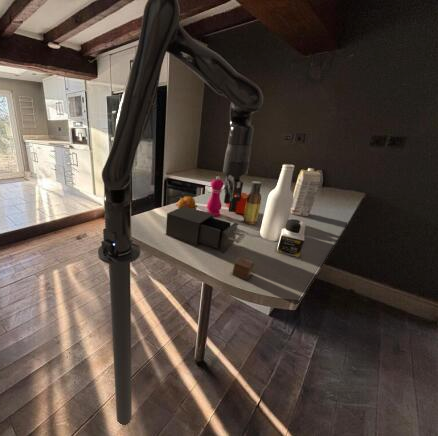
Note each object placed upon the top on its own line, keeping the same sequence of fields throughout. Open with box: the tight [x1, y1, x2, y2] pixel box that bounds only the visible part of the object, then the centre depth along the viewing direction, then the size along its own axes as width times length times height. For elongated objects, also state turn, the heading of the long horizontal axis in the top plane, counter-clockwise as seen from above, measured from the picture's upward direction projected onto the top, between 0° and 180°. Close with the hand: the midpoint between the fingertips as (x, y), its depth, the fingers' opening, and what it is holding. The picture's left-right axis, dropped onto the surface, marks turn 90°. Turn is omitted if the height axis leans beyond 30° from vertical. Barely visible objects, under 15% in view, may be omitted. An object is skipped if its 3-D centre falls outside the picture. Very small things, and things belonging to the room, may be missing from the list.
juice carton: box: [290, 167, 322, 217], centre depth 120 cm, size 9×8×24 cm
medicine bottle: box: [276, 218, 307, 258], centre depth 85 cm, size 7×7×12 cm
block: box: [232, 256, 255, 281], centre depth 72 cm, size 4×4×4 cm
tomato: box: [225, 192, 250, 215], centre depth 123 cm, size 14×16×10 cm
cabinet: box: [165, 206, 215, 247], centre depth 96 cm, size 15×13×10 cm
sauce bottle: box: [243, 180, 263, 225], centre depth 108 cm, size 7×6×20 cm
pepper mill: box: [206, 175, 224, 217], centre depth 117 cm, size 7×7×20 cm
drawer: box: [198, 217, 247, 253], centre depth 89 cm, size 18×11×8 cm, turn 50°
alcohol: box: [259, 163, 296, 242], centre depth 92 cm, size 9×9×30 cm
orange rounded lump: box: [176, 195, 199, 210], centre depth 120 cm, size 10×11×10 cm
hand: (229, 207), depth 80 cm, fingers open, 8 cm apart
